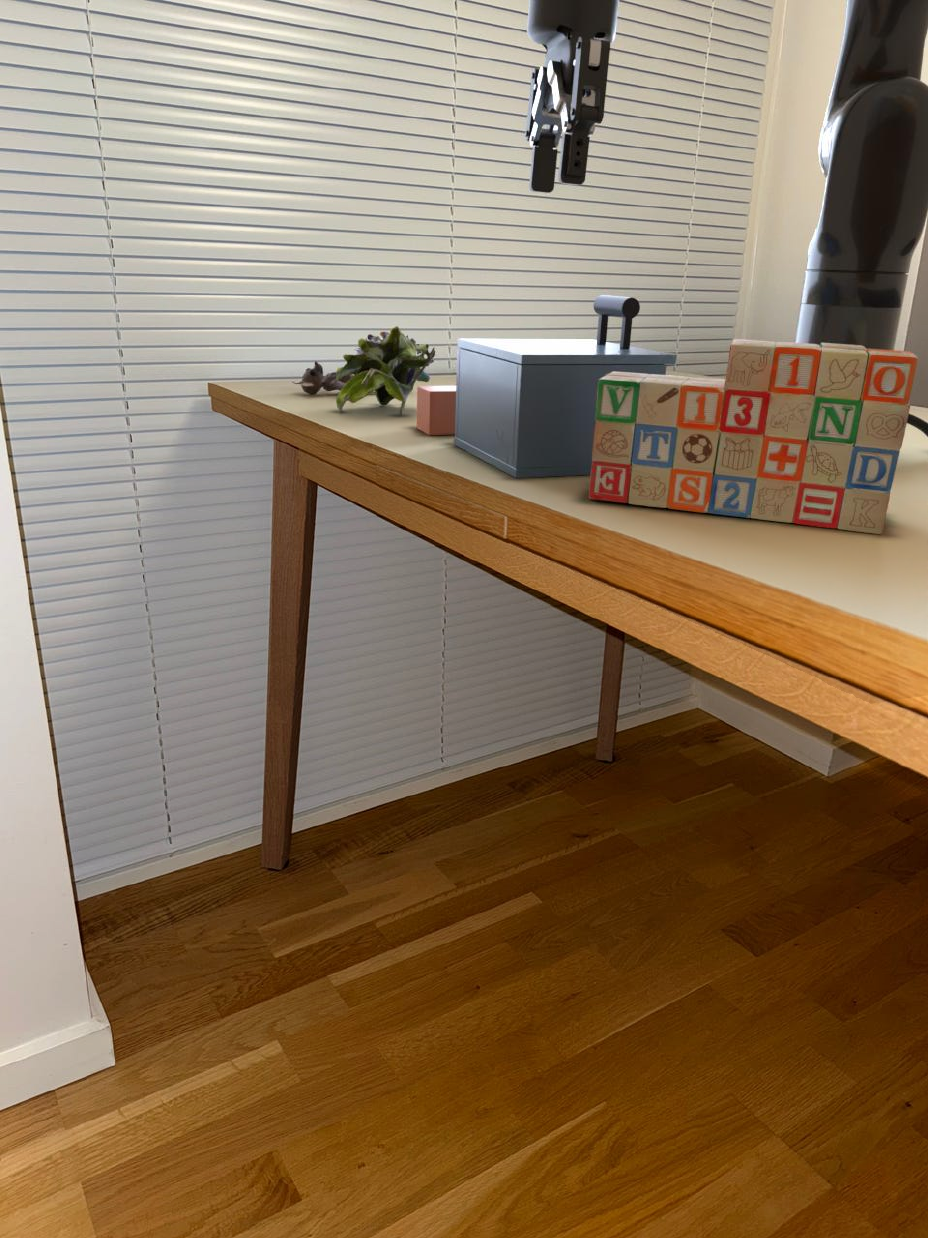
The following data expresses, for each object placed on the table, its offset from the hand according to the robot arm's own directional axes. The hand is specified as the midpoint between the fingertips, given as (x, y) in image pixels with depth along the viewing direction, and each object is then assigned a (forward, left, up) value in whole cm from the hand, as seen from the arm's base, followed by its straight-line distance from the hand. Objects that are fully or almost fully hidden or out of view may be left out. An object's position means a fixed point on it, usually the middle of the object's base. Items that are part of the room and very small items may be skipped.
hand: (555, 188), depth 83 cm
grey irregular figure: (+9, -42, -24) cm, 49 cm away
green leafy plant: (+8, -26, -24) cm, 36 cm away
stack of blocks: (-5, +25, -24) cm, 35 cm away
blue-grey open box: (+1, +4, -23) cm, 24 cm away
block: (+6, -12, -23) cm, 27 cm away
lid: (0, +4, -14) cm, 15 cm away
